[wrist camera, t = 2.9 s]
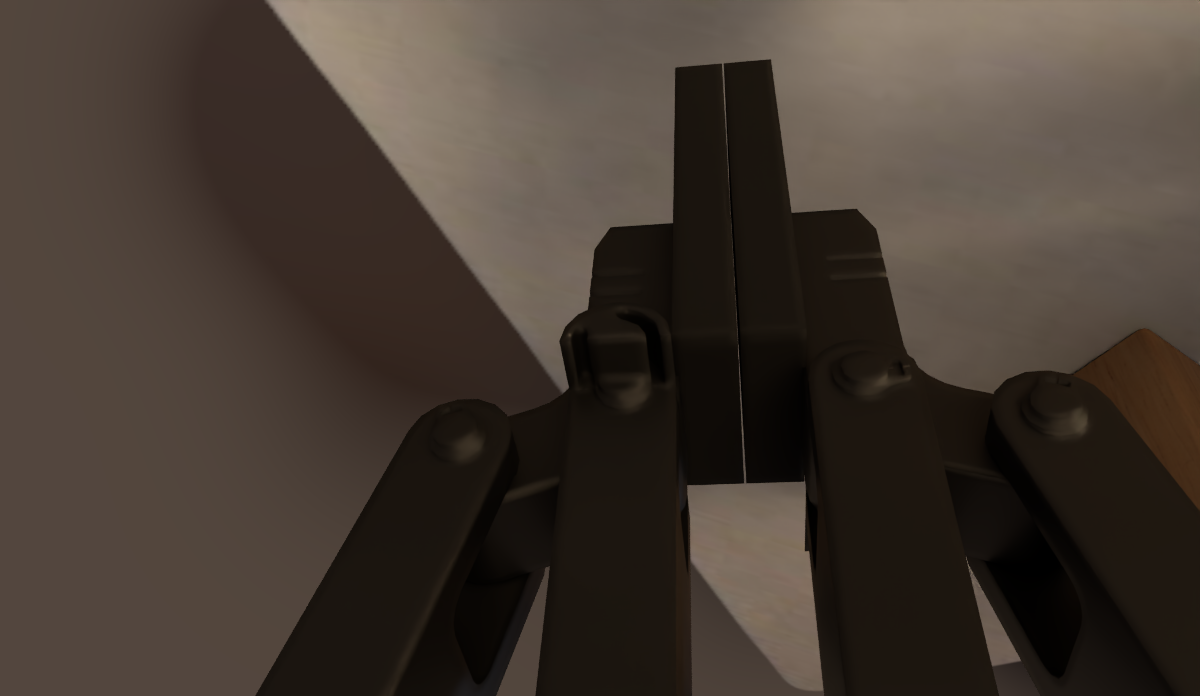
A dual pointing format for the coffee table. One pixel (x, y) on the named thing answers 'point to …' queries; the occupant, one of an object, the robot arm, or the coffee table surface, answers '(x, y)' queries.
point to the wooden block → (1156, 400)
